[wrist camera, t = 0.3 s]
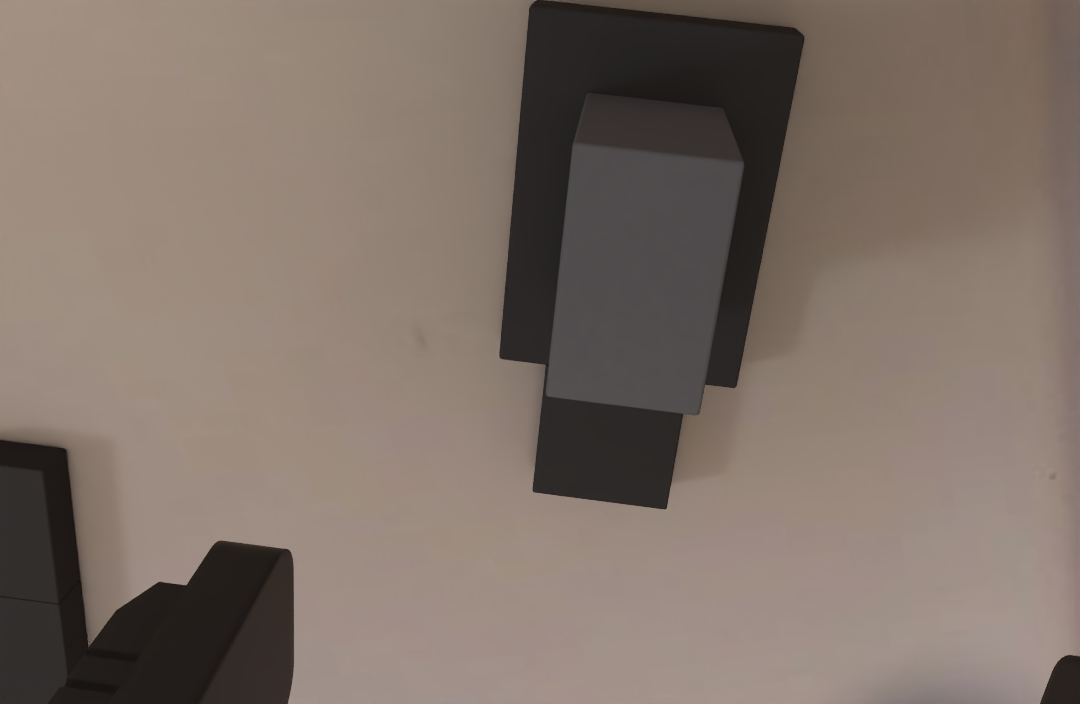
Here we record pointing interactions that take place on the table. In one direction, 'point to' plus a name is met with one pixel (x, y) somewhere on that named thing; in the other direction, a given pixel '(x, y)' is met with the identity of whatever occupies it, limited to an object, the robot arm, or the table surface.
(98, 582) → the table surface
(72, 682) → the robot arm
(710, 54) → the pad
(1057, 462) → the table surface
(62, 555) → the notch pad
